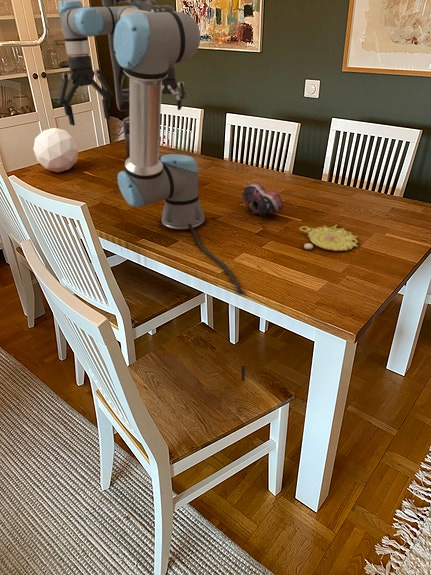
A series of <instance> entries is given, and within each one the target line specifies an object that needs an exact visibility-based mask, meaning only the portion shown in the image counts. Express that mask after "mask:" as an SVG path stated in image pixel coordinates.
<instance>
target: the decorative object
mask: <svg viewBox="0 0 431 575" xmlns="http://www.w3.org/2000/svg"><path fill="white" fill-rule="evenodd" d="M303 228H304V229H305V230H304V229H303ZM299 231H300V232H303V233H305V234H307V237H308V238H309V240H310V241H311V243H304V244H303V248H304V249H305V250H313V249H314V245H315V246H316V247H318V248H321V249H324V250H328V251H335V252H341V251H348V250H352V249H354V247H356V248H358V247H359V245H358V244H357V243H359V240H357V238H359V237H358V235H353V234H352V231H347V230H346V229H345V228H344V227H342V228H338V224H335V225H333V226H331V227H328V226H327V225H326V224H325V225H323V226H322V227H321V226H317V227H316V228H314V227H309V226H308V225H302V226H300V227H299ZM313 244H314V245H313Z"/></svg>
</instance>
